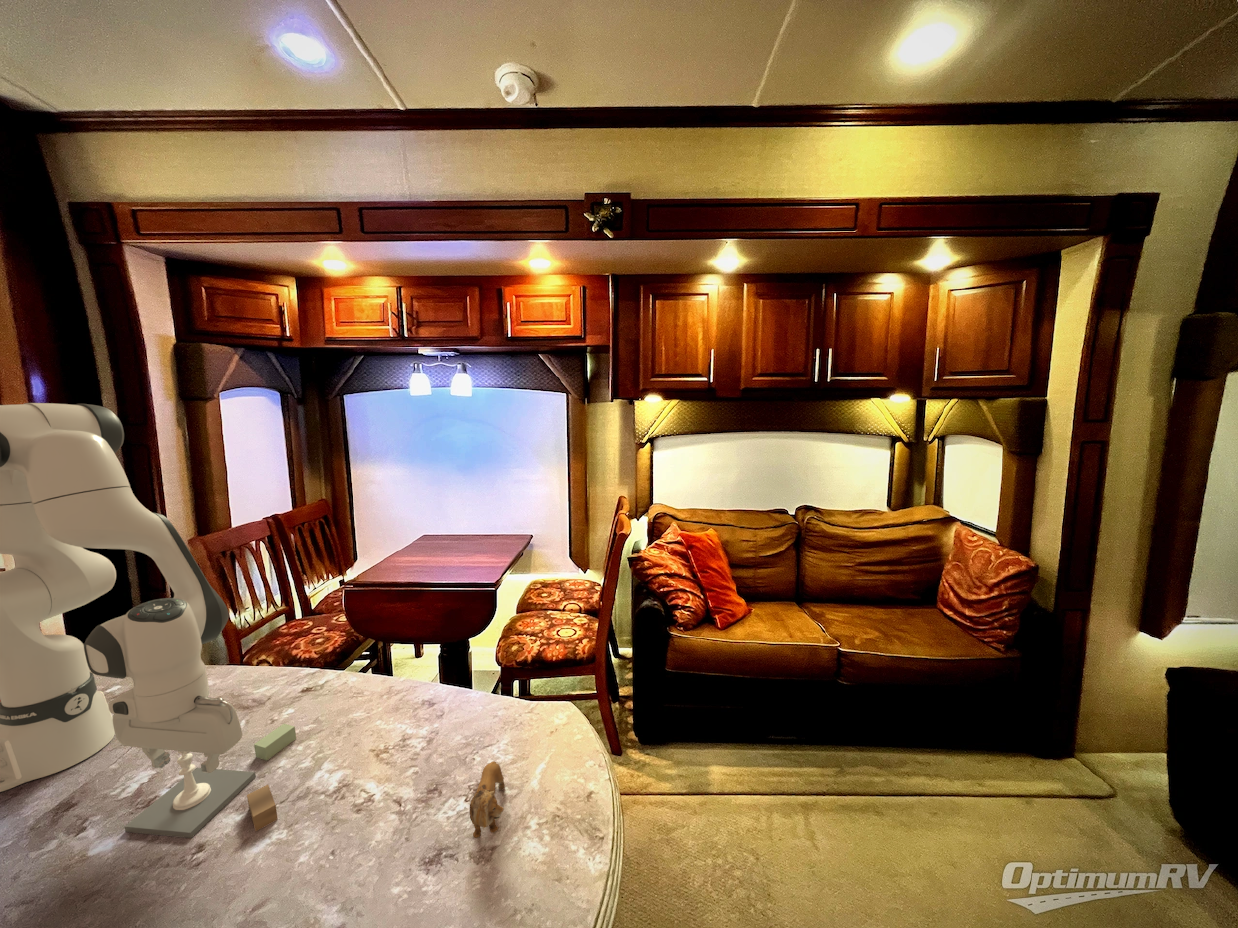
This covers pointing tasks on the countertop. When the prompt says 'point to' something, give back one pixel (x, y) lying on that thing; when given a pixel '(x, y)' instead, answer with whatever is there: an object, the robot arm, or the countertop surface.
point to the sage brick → (275, 741)
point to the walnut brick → (262, 807)
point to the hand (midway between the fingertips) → (186, 767)
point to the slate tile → (190, 821)
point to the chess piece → (189, 785)
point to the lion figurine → (487, 800)
